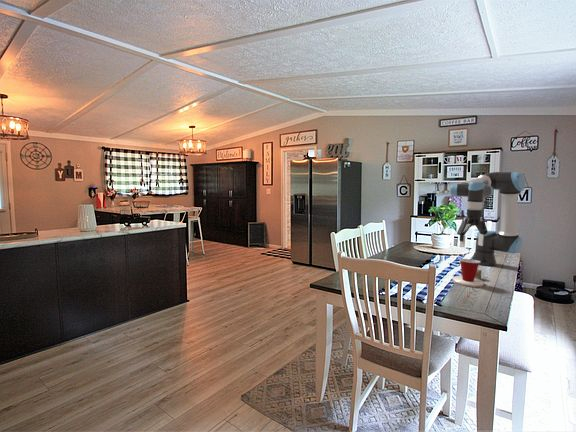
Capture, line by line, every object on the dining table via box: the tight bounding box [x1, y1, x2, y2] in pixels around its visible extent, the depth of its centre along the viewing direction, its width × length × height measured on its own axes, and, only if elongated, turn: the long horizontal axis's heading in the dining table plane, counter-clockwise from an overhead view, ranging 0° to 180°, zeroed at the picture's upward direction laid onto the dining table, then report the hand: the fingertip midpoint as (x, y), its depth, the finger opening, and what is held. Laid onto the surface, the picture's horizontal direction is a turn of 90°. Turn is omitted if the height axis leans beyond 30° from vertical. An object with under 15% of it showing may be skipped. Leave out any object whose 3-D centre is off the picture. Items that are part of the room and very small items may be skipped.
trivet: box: [452, 275, 485, 288], centre depth 197 cm, size 16×16×2 cm
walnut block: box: [475, 268, 482, 280], centre depth 206 cm, size 5×5×5 cm
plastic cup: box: [459, 258, 480, 282], centre depth 196 cm, size 11×11×12 cm
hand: (471, 246), depth 195 cm, fingers open, 13 cm apart
